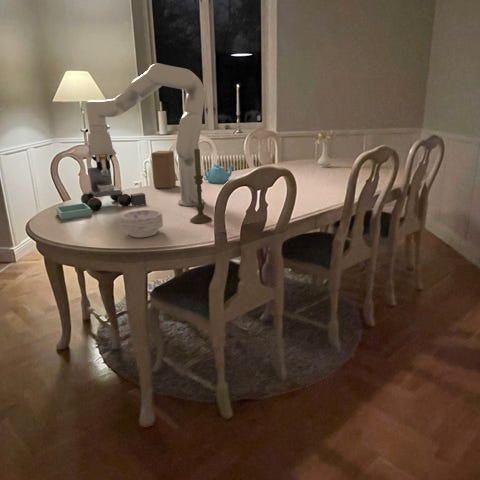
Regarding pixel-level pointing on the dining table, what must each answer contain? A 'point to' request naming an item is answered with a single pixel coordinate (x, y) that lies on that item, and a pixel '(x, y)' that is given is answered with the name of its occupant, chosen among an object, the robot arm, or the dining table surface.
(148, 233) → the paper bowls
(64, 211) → the tray
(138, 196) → the chock
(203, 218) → the candlestick holder
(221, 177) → the teapot
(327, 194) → the dining table surface
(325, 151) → the flower vase
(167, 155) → the wooden block
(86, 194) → the trolley
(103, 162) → the stop pin
